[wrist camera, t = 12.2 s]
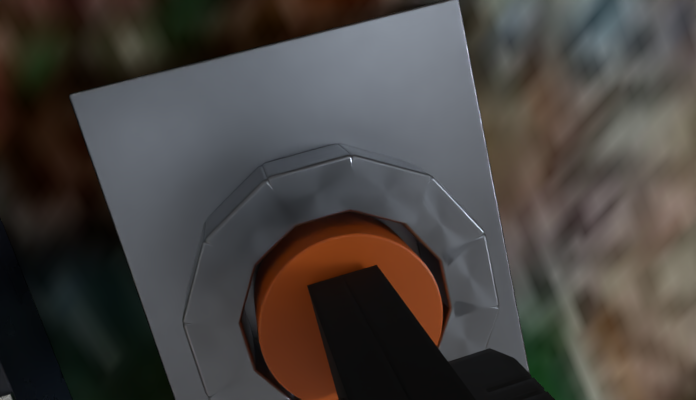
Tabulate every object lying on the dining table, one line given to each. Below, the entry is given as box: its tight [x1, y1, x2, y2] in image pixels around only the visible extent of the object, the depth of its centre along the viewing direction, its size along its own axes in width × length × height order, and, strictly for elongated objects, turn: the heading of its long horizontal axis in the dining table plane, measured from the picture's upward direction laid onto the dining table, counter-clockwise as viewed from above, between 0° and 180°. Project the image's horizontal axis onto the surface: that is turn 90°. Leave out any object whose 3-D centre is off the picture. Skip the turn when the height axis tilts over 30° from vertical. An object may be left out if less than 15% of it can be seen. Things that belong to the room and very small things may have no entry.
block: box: [69, 0, 529, 400], centre depth 16 cm, size 12×9×4 cm
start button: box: [254, 212, 443, 400], centre depth 15 cm, size 4×4×2 cm
